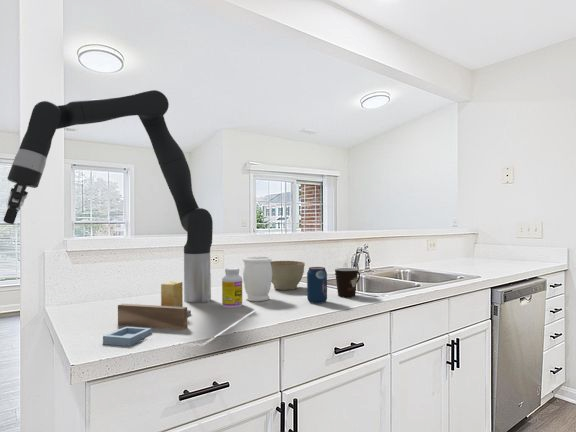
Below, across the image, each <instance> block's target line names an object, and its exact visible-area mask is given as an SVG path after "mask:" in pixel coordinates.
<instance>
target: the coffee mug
mask: <svg viewBox="0 0 576 432" xmlns="http://www.w3.org/2000/svg"><path fill="white" fill-rule="evenodd" d="M334 271H335V280H336V281H335V283H336V289H337V296H338V297H340V298H343V299H344V298H350V299H351V298H355V297H356V292H357V284H358V283H359V280H361V272H360V271H359V269H358V268H355V267H340V268H339V267H337V268H334Z"/></svg>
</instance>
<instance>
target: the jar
mask: <svg viewBox="0 0 576 432" xmlns="http://www.w3.org/2000/svg"><path fill="white" fill-rule="evenodd" d="M271 261H273V259H272V257H267V256H251V257H244V258H242V262H243V263H244V265H243V269H242V270H243V271H242V281H243V284H244V290H245V294H246V295H247V296H246V297H245V298H246V299H245V300H247V301H249V302H263V301H264V302H265V301H268V300H269V299H270V296H269V294H270V292H271V288H272V282H271V281H272V267H271V264H270V262H271Z"/></svg>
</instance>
